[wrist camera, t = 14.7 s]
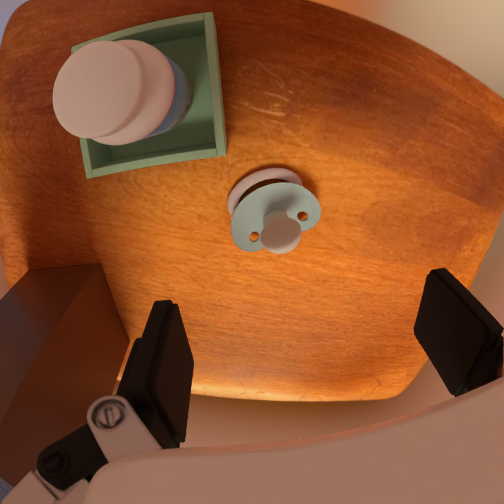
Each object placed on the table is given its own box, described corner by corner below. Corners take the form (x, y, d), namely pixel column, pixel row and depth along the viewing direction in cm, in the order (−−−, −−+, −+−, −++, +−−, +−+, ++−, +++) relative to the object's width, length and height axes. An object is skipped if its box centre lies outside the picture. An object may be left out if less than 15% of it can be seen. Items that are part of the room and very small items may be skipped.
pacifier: (213, 189, 25) (243, 249, 27) (206, 209, 19) (245, 285, 21) (295, 153, 24) (320, 217, 26) (313, 163, 18) (342, 245, 20)
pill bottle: (174, 47, 19) (127, 0, 9) (206, 111, 21) (182, 108, 11) (108, 86, 19) (25, 77, 9) (139, 148, 22) (71, 178, 12)
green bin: (109, 167, 23) (86, 179, 19) (96, 55, 19) (70, 47, 14) (227, 148, 23) (226, 156, 19) (216, 29, 19) (212, 11, 15)
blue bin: (60, 341, 31) (-17, 524, 7) (28, 270, 27) (-104, 459, 3) (129, 342, 31) (71, 571, 7) (100, 262, 27) (-36, 527, 3)
